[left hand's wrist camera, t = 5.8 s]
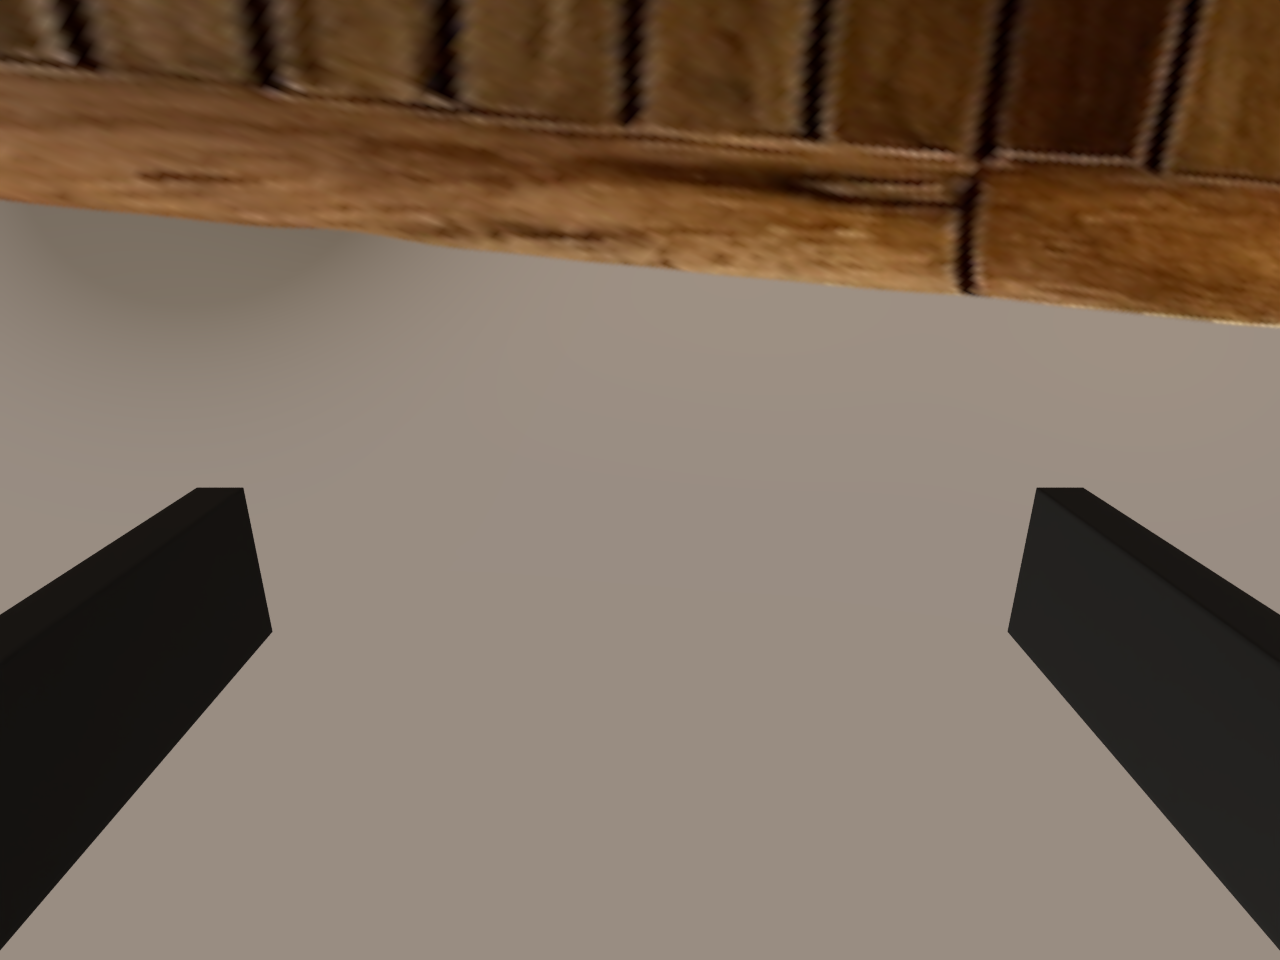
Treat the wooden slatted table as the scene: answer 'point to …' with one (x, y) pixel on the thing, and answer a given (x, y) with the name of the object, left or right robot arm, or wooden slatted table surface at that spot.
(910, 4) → the wooden slatted table surface
